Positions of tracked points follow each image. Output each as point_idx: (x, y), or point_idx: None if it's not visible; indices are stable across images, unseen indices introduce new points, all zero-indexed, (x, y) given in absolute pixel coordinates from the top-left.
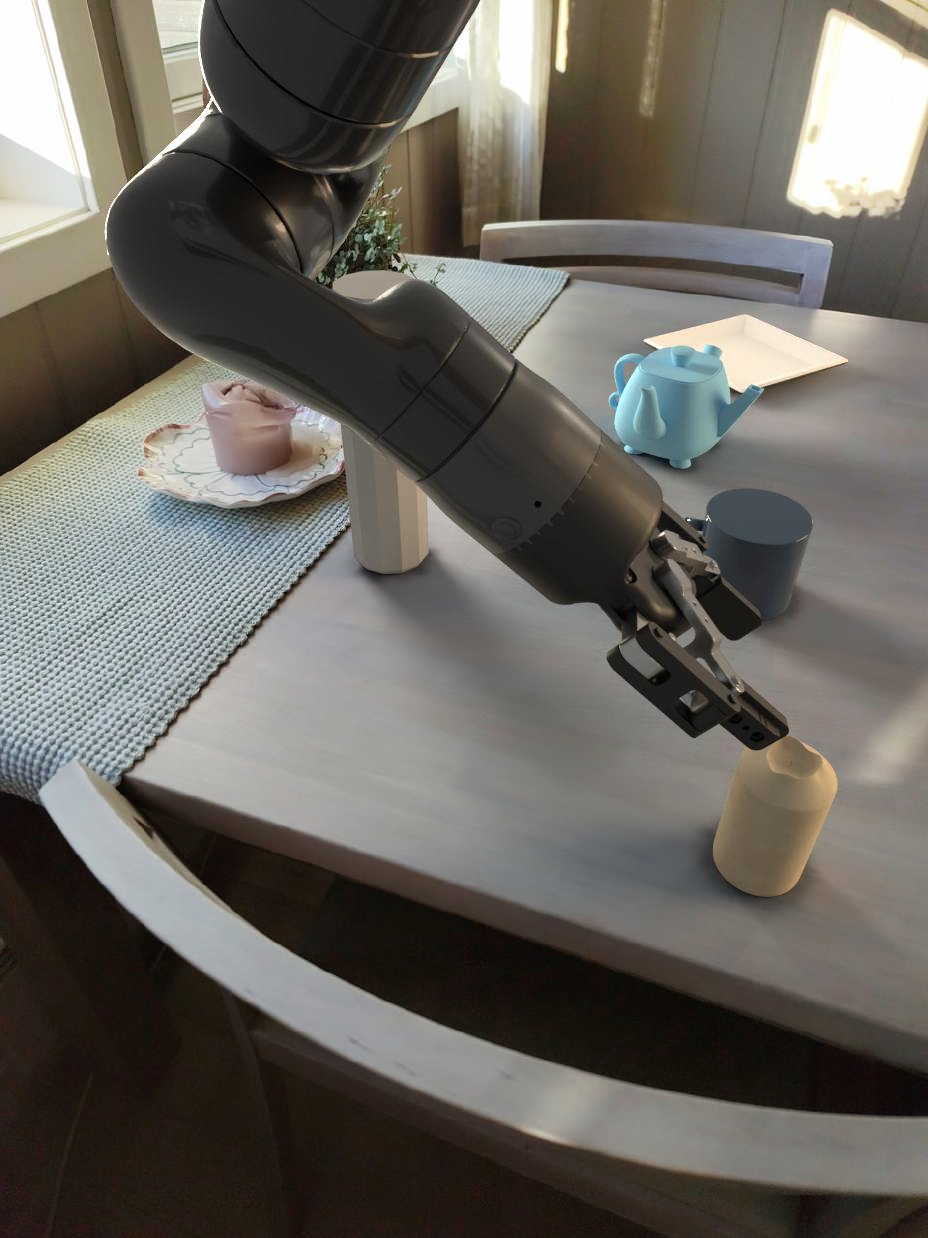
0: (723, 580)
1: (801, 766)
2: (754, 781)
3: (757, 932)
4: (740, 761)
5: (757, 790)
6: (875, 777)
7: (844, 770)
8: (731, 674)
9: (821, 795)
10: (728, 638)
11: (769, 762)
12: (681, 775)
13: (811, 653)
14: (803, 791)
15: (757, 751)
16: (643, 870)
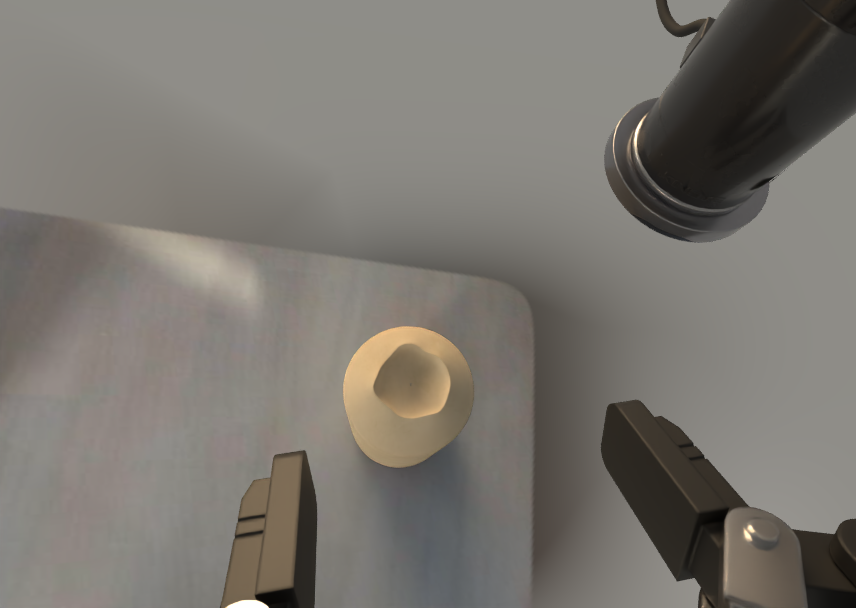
0: (270, 581)
1: (408, 370)
2: (447, 434)
3: (485, 415)
4: (407, 454)
5: (456, 429)
6: (249, 285)
7: (244, 316)
8: (760, 548)
9: (448, 347)
10: (316, 516)
11: (417, 414)
12: None
13: (15, 341)
14: (457, 369)
15: (398, 431)
16: (445, 548)
